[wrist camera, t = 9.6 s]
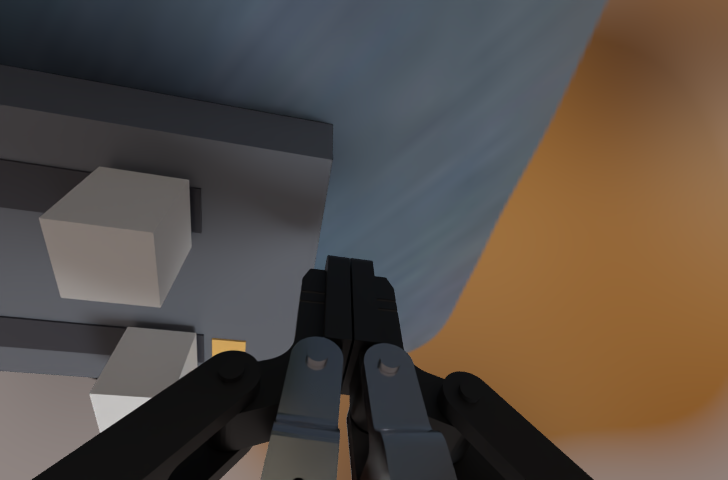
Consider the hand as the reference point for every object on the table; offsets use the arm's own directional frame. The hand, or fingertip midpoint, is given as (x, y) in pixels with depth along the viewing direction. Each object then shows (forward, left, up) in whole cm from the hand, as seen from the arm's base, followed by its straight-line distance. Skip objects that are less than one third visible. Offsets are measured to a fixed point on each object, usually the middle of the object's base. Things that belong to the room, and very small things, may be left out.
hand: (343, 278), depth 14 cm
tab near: (-7, 0, -3) cm, 8 cm away
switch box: (-11, -4, -8) cm, 14 cm away
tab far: (-7, -8, -3) cm, 11 cm away
